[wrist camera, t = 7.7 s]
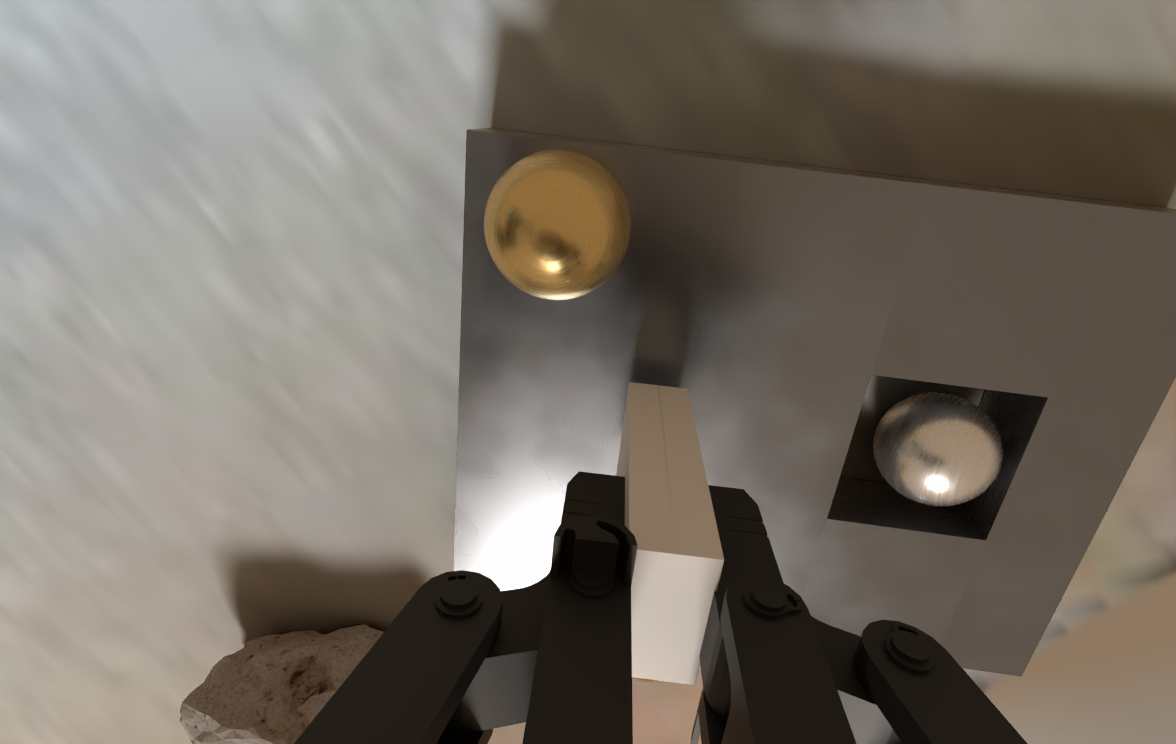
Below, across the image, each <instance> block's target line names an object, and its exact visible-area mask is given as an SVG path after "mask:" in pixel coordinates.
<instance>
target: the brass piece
mask: <svg viewBox="0 0 1176 744" xmlns="http://www.w3.org/2000/svg"><path fill="white" fill-rule="evenodd" d="M630 229H631V223H630V213H629V208H628V205H627V202H626V199H625V196H624V194H623V192H622V190H621V188H620V186H619V185H618V183H617V181H616V180H615V179H614V177H613V176H612V175H611V174H610V173H609V172H608V171H607V170H606V169H605V168H604V167H603V166H602V165H600V164H599V163H597V162H596V161H594V160H593V159H591V158H589V157H587V156H585V155H582V154H579V153H576V152H571V151H566V150H545V151H541V152H537V153H533V154H531V155H528V156H526V157H524V158H522V159H520V160H519V161H517V162H516V163H514V164H513V165H512V166H511V167H509V168H508V169H507V170H506V171H505V172H504V173H503V174H502V175H501V177H500V178H499V179H498V181H497V182H496V183H495V185H494V187H493V189H492V191H491V193H490V195H489V198H488V201H487V205H486V209H485V215H484V234H485V241H486V244H487V248H488V251H489V253H490V255H491V258H492V260H493V261H494V263H495V265H496V267H497V268H498V269H499V271H500V272H501V273H502V274H503V276H504V277H505V278H506V279H507V280H508V281H509V282H511V283H512V284H513V285H514V286H516V287H517V288H519V289H520V290H522V291H524V292H526V293H528V294H530V295H532V296H535V297H538V298H542V299H548V300H569V299H574V298H578V297H581V296H584V295H586V294H588V293H590V292H592V291H594V290H596V289H597V288H599V287H600V286H602V285H603V284H604V283H605V282H606V281H607V280H609V278H610V277H611V276H612V275H613V274H614V273H615V271H616V270H617V268H618V267H619V265H620V264H621V262H622V260H623V258H624V256H625V253H626V250H627V247H628V244H629V239H630Z"/></svg>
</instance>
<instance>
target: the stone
mask: <svg viewBox="0 0 1176 744" xmlns="http://www.w3.org/2000/svg"><path fill="white" fill-rule="evenodd" d="M383 633H384V631H380V630H376V629H373V628H370V627H369V626H367V625H366V624H363V625H357V626H352V627H347V628H341V629H338V630H336V631H333V632H331V633H328V634H325V635H324V634H321V633H319V632H317V631H314V630H302V631H293V632H288V633H285V634H269V635H267V636H263V637H259V638H256V639H253V640H251V641H249V642H247V643H246V644H245V647H244V648H243V649H241V650H239V651H238V652H236V653H234V654H231V655H228V656H225V657H223V658H222V659H221V660H220V661H219V662H218V663H217V664H216V665H215V666H213V668H212V670H211V671H210V673H209V675H208V677H207V678H206V680H205V682H204V683H202V684H201V685H200V686H199V687H197V688H196V689H195V690H194V691H192V692H191V693H190V694H189V695H188V697H187V698H186V699H185V700H184V701H183V702H182V705H181V709H180V713H181V718H180V723H181V724H182V726H183V727H184V728H185V730H186V731H187V733H188V736H189V738H190V740H191V742H192V744H294V743H295V742H296V740H297V739H298V738H299V737H300V735H301V734H302V733H303V732H304V730H305V729H306V728H307V727H308V725H309V724H310V723H311V722H312V721H313V719H314V718H315V717H316V716H317V714H318V713H319V712H320V711H321V709H322V708H323V707H324V706H325V705H326V703H327V702H328V701H329V700H330V698H331V697H332V696H333V695H334V693H335V692H336V691H337V690H338V689H339V687H340V686H341V685H342V684H343V682H344V681H345V680H346V679H347V677H348V676H349V675H350V674H351V672H352V671H353V670H354V669H355V668H356V666H357V665H358V664H359V663H360V661H361V660H362V659H363V658H364V656H365V655H366V654H367V653H368V652H369V650H370V649H371V648H372V647H373V645H374V644H375V643H376V642H377V640H378V639H379V638H380V637H381V635H382V634H383Z"/></svg>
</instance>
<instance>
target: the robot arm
mask: <svg viewBox="0 0 1176 744" xmlns="http://www.w3.org/2000/svg"><path fill="white" fill-rule="evenodd" d="M700 665H701V673H702V680H703V689H702V693H701V698H700V702H699V706H698V710H697V714H696V719H695V723H694V727H693V731H692V738H691V744H698V741H699V737H700V733H701V741H702V744H1027V743H1026V742H1025V740H1024V739H1023V738H1022V737H1021V736H1020V735H1019V734H1018V732H1017V731H1016V730H1015V729H1014V728H1013V727H1012V725H1011V724H1010V723H1009V722H1008V721H1007V720H1006V718H1005V717H1004V716H1003V715H1002V714H1001V713H1000V711H999V710H998V709H997V708H996V707H995V706H994V704H993V703H992V702H991V701H990V700H989V699H988V698H987V696H986V695H985V694H984V693H983V692H982V691H981V689H980V688H979V687H978V686H977V685H976V684H975V682H974V681H973V680H972V679H971V678H970V677H969V676H968V674H967V673H966V672H965V671H964V670H963V669H962V667H961V666H960V665H959V664H958V663H957V662H956V660H955V659H954V658H953V657H952V656H951V655H950V654H949V652H948V651H947V650H946V649H945V648H944V647H943V646H941V645H940V644H939V643H938V642H937V641H936V640H935V639H934V638H933V637H931V636H929V635H928V634H926V633H924V632H923V631H921V630H919V629H918V628H916V627H914V626H911V625H908V624H905V623H902V622H899V621H892V620H878V621H875V622H871V623H869V624H868V625H867V626H866V628H865V629H864V630H863V631H862V634H861V636H858V635H855V634H853V633H850V632H847V631H844V630H841V629H839V628H836V627H833V626H830V625H828V624H826V623H824V622H821V621H819V620H817V619H816V618H814V617H812V616H811V615H810V612H809V610H808V607H807V606H806V604H805V603H804V601H803V599H802V598H801V596H800V595H799V594H797V593H796V592H795V591H794V590H793V589H792V588H790V587H789V586H788V585H786V584H784V583H783V579H782V576H781V573H780V570H779V567H778V564H777V561H776V558H775V555H774V552H773V549H772V546H771V543H770V540H769V537H767V531H766V528H765V525H764V524H763V519H762V516H761V513H760V510H759V507H758V504H757V503H756V502H755V501H754V500H753V499H752V498H751V497H750V496H749V495H748V494H747V493H746V491H745V490H744V489H738V488H729V487H721V486H712V485H708V482H707V477H706V473H705V468H704V463H703V459H702V454H701V449H700V445H699V440H698V435H697V431H696V426H695V421H694V417H693V412H692V407H691V403H690V398H689V393H688V389H685V388H677V387H668V386H659V385H651V384H642V383H633V382H629V386H628V393H627V400H626V407H625V415H624V422H623V429H622V436H621V444H620V451H619V458H618V465H617V473H616V476H614V475H606V474H597V473H589V472H580V471H579V472H578V473H577V474H576V475H575V476H574V477H573V478H572V479H571V480H570V481H569V482H568V483H567V488H566V494H565V501H564V506H563V513H562V518H561V524H560V526H559V527H558V529H557V531H556V533H555V535H554V540H553V551H552V561H551V570H550V571H549V573H548V574H547V575H546V576H545V577H544V578H542V579H541V580H540V581H538V582H537V583H534V584H532V585H530V586H527V587H523V588H519V589H513V590H506V591H500V588H499V587H498V586H497V585H496V584H495V583H494V582H493V580H492V579H490V578H488V577H486V576H484V575H482V574H480V573H477V572H471V571H464V570H461V571H452V572H446V573H443V574H441V575H438V576H436V577H433V578H431V579H430V580H429V581H428V582H426V583H425V584H424V585H423V586H422V587H421V588H420V589H419V590H418V591H417V592H416V594H415V595H414V596H413V597H412V598H411V600H410V601H409V602H408V603H407V605H406V606H405V607H404V608H403V610H402V611H401V612H400V613H399V615H398V616H397V617H396V618H395V619H394V621H393V622H392V623H391V624H390V626H389V627H388V628H387V629H386V631H385V632H384V633H383V634H382V635H381V637H380V638H379V639H378V640H377V642H376V643H375V644H374V645H373V647H372V648H371V649H370V650H369V652H368V653H367V654H366V655H365V656H364V658H363V659H362V660H361V661H360V663H359V664H358V665H357V666H356V668H355V669H354V670H353V671H352V672H351V674H350V675H349V676H348V677H347V679H346V680H345V681H344V682H343V684H342V685H341V686H340V687H339V689H338V690H337V691H336V692H335V693H334V695H333V696H332V697H331V698H330V700H329V701H328V702H327V703H326V705H325V706H324V707H323V708H322V709H321V711H320V712H319V713H318V714H317V716H316V717H315V718H314V719H313V721H312V722H311V723H310V724H309V725H308V727H307V728H306V729H305V730H304V732H303V733H302V734H301V735H300V737H299V738H298V739H297V740H296V742H295V743H294V744H487V743H488V741H489V739H490V737H491V735H492V732H493V728H498V727H503V726H508V725H513V724H518V723H523V722H526V726H525V732H524V738H523V744H633V736H632V677H634V678H642V679H650V680H658V681H666V682H675V683H683V684H691V685H695V684H696V680H697V675H698V671H699V667H700Z"/></svg>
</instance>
